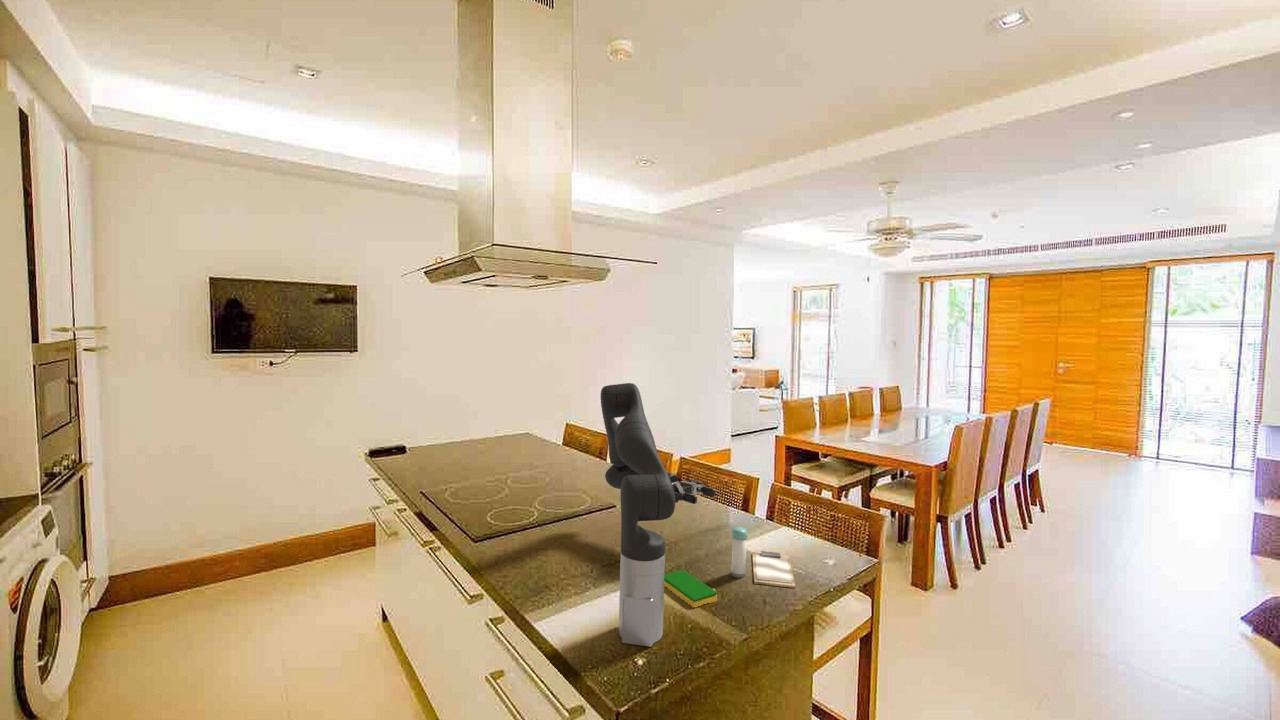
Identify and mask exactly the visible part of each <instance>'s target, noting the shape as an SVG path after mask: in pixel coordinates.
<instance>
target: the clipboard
mask: <svg viewBox="0 0 1280 720" xmlns="http://www.w3.org/2000/svg"><path fill="white" fill-rule="evenodd" d="M752 569H753V582H754V583H753V584H755V585H756V584H757V585H763V586H764V585H765V586H772V587H781V588H791V589H796V583H795V579H794V574H793V570H792V565H791V561H790V556H789V555H785V554H784V555H783V554H781V552H773V551H765V550H763V551H762V550H761V551H760V552H753V551H752Z"/></svg>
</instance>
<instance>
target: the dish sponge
mask: <svg viewBox="0 0 1280 720" xmlns="http://www.w3.org/2000/svg"><path fill="white" fill-rule="evenodd" d="M666 587H667V588H668V589H667V588H666ZM664 588H666V589H667V590H669V591H670V592H671V591H672V592H671V593H672V594H674V595H675V594H676V595H675V596H677V597H678V596H679V597H680V598H679V597H678V598H679V599H681V600H682V601H683V600H684V601H683V602H685V603H686V602H687V603H688V604H687V603H686V604H687V605H689V604H690V605H691V606H692V607H691V606H690V605H689V606H690V607H691V608H693V607H697V608H699V607H698V606H700V607H702V606H701V605H703V604H706V605H708V604H707V603H709V604H712V603H715V602H717V601H718V592H717V591H716V590H715V589H713V588H711V587H710V586H709V585H707V584H705V583H704V582H703V581H701V580H700V579H698V578H696V576H694V575H692V574H690V573H689V572H687V571H686V570H684V569H680V570H677V571H672V572H670V573H666V574H665V573H664ZM703 606H704V605H703Z"/></svg>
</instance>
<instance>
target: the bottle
mask: <svg viewBox="0 0 1280 720" xmlns="http://www.w3.org/2000/svg"><path fill="white" fill-rule="evenodd" d="M731 531H732V532H731V533H732V534H731V537H732V543H731V545H732V546H731V568H730V569H731V570H730V572H731V573H730V575H731V577H734V578H737V579H743V578H745V577H746V564H747V563H746V561H747V559H746V558H747V539H748V529H747V528H745V527H741V526H736V527H733V528H732V530H731Z"/></svg>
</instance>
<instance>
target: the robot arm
mask: <svg viewBox="0 0 1280 720" xmlns="http://www.w3.org/2000/svg"><path fill="white" fill-rule="evenodd" d="M600 406H601V412H602V414H601V415H602V419H603V424H604V428H605V429H604V430H605V433H606V436H607V441H608V442H607V443H608V444H607V445H608V456H609V460H610V463H611V464H612V465H611V466H609V468H608V469H607V470H606V472H605V476H604V478H605V481H606V482H607V484H608V485H609V486H610V487H611V488H614V489H618V490H620V516H621V517H620V523H621V524H620V532H621V533H620V562H619V563H620V565H619V566H620V567H619V568H620V569H619V599H618V601H619V602H618V604H619V605H618V634H619V637H620V638H621V643H622V644H629V645H637V646H641V647H642V646H643V647H650V648H651V647H653V645H654V643H656V642H658V641H660V640H661V638H662V637H663V634H664V606H665V605H664V604H665V603H664V602H665V600H664V599H665V586H664V575H665V568H666V565H665V564H666V563H665V562H666V541H665V537H663V536H662V535H661V534H659V533H658V532H655V531H652V530H649V529H646V528H645V527H642V526H640V525H639V522H647V521H648V522H649V521H650V522H651V521H663V520H667V519H670V518H671V517H672V516H673V515H674V512H675V510H676V509H675V508H676V503H679V502H681V503H682V502H683V503H684V502H686V503H689V504H693V505H695V504H697V503H698V497H697V495H704V496H708V497H710V498H714V497H715V496H716V489H715V488H711V487H708V486H707V484H708V483H707V482H702V481H698V480H694V479H689V480H688V481H686V480H682V481H681V480H680V477H679V476H678V475H677V474H676V473H673V472H669V471H667V470H666V468H665V466H664V465H663V462H662V459H661V458H660V456H659V453H658V452H659V451H658V449H657V446H656V442H655V438H654V436H653V433H652V429H651V428H650V425H649V422H648V419H647V417H646V415H645V410H644V405H643V401H642V396H641V392H640V390H639V387H638V386H637V385H636V384H635V383H633V382H632V383H630V382H626V383H625V382H624V383H617V384H609V385H605V386H603V387H602V388H601V391H600ZM616 418H622V419H621V420H620V421H619V423H618V421H617V420H616ZM692 490H693V491H692Z"/></svg>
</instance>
